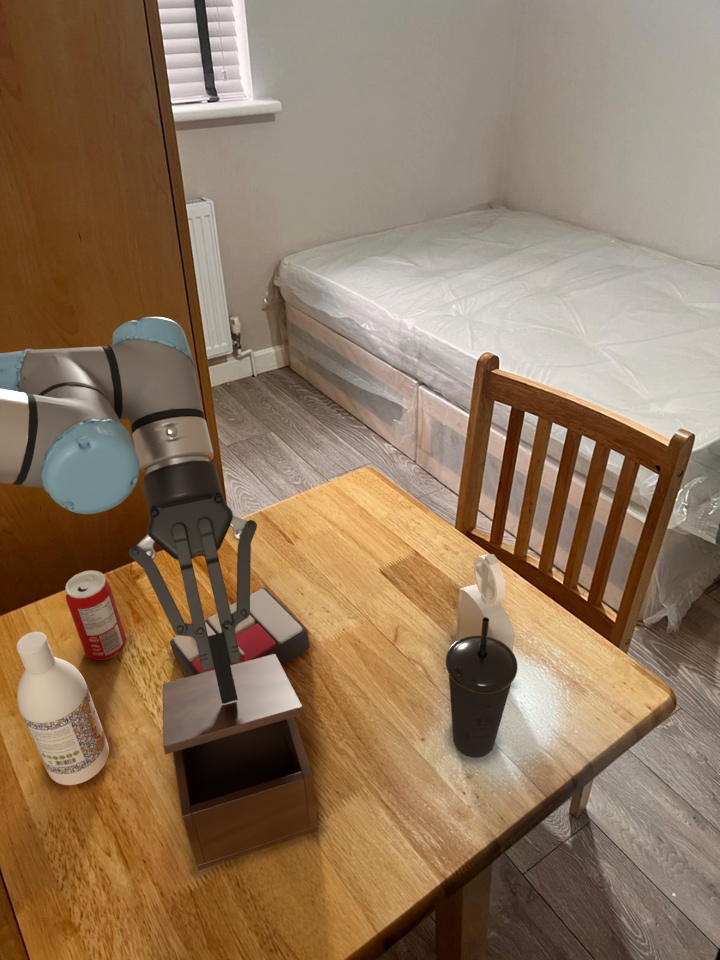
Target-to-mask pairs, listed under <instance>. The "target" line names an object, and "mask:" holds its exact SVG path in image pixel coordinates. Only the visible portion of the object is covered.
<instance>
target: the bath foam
mask: <svg viewBox="0 0 720 960" xmlns="http://www.w3.org/2000/svg"><path fill="white" fill-rule="evenodd" d="M16 651H17V653H18V655H19V658H20V661H21V662H22V665H23V667H24V671H23V673H22V675H21V677H20V680H19V682H18V686H17V693H16V697H17V698H16V699H17V705H18V710H19V712H20V714H21V717H22V720H23V721H24V724H25V725H26V728H27V729H28V732H29V734H30V737H31V739H32V741H33V743H34V746H35V748H36V750H37V752H38V754H39V756H40V758H41V761H42V763H43V765H44V767H45V769H46V772H47V774H48V775H49V777H50V778H51V780H52V781H54V782H55V783H57V784H59V785H63V786H75V785H76V786H77V785H80V784H82V783H85V782H87V781H89V780H91V779H92V778H94V777H95V776H97V774H99V773H100V771H102V770H103V768H104V767H105V766H106V763H107V761H108V758H109V755H110V748H109V743H108V740H107V737H106V734H105V731H104V729H103V726H102V723H101V720H100V716H99V714H98V711H97V708H96V705H95V703H94V700H93V698H92V695H91V693H90V689H89V686H88V684H87V681H86V679H85V677H84V676H83V675H82V673H81V672H80V671H79V669H78V668H77V667H76V666H75V665H73V664H72V663H71V662H68V661H67V660H65V659H62V658H60V657H56V656H54V653H53V650H52V647H51V646H50V644H49V641H48V637H47V635H46V634H45V633H43V632H41V631H31V632H28V633H26V634H24V635H23V636H22V637H20V638H19V639H18V641H17V643H16Z"/></svg>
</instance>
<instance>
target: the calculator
mask: <svg viewBox="0 0 720 960" xmlns="http://www.w3.org/2000/svg"><path fill="white" fill-rule="evenodd" d="M229 606H230V611H231V614H232V613H233V612H235V611H236V607H237V601H236V602H234V603H233V604H229ZM204 620H205V624H206V629H207V634H208V636H211V635H214V634H218V633H222V631H221V626H220V622H219V618H218V613H217V612H216V613H215V614H213V615H211V616H209V617H208V618H207V619H204ZM308 633H309V632H308V629H307V628H306V627H305V626H304V625H303V624H302V623H301V622H300V621H299V620H298V619H297V618H296V617H295V616H294V615H293V613H291V612H290V611H289V610H288V609H287V608H286V607H285V606H284V605H283V604H282V603H281V602H280V601H279V600H278V599H277V598H276V597H275V596H274V595H273V594H272V593H271V592H270V591H269V590H268V589H267V588H266V587H261V588H259V589H257V590H256V591H254V592H252V593H250V615H249V617H248V618H246V619H245V620H243V621H242V622H240V623H239V624H238V625H237V626H236V628H235V634H236V638H237V643H238V647H239V652H240V662H236V663H233V664H230V666H231V665H235V664H238V663H242V662H246V661H250V660H253V659H257V658H261V657H265V656H268V655H272V654H276V656H277V658H278V660H279V662H280V664H281V665H282V664H285V663H289V662H292V661H293V660H294V659H295V658H298V657H299V656H300V655H302V654H304V653H305V652H307V651H308V650H309V649H310V648H311V647H310V646H311V645H310V640H309V634H308ZM169 644H170V647H171V650H172V654H173V656H174V658H175V659H176V661H177V662H178V663H179V665H180V666H181V667H182V669H183V670H184V671H185V673H187V676H188V677H190V676H193V675H197V674H201V673H205V672H208V671H212V670H215V669H211V670H207V671H204V669H203V668H202V666H201V662H200V657H199V653H198V648H197V643H196V640H195V639H194V638H193V637H190V636H180V635H176V636H174V637H173V638H172V639H170V640H169Z"/></svg>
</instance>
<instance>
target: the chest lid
mask: <svg viewBox="0 0 720 960" xmlns="http://www.w3.org/2000/svg"><path fill="white" fill-rule="evenodd" d="M230 667H231V671H232V676H233V680H234V685H235V689H236V694H237V698H238V700H235V701H232V702H228V703H225V704H222V701H221V696H220V692H219V687H218V682H217V678H216V673H215V670H212V671H208V672H205V673H201V674H197V675H193V676H186V677H183V678H179V679H174V680H171V681H167V682H163V683H162V723H163V725H162V730H163V731H162V733H163V734H162V735H163V738H162V739H163V742H162V743H163V750H164V754H165V755H168V754H171V753H172V754H173V752H175V751H179V750H182V749H186V748H189V747H193V746H196V745H199V744H203V743H206V742H210V741H213V740H217V739H220V738H224V737H227V736H230V735H234V734H237V733H241V732H244V731H248V730H251V729H255V728H258V727H261V726H265V725H268V724H272V723H275V722H279V721H282V720H286V719H289V718H292V717H294V718H295V717H300V716H302V715H304V714H305V712H304V711H305V710H304V707H303V705H302V703H301V701H300V698H299V697H298V695H297V693H296V691H295V689H294V687H293V685H292V683H291V681H290V680H289V677H288V676H287V674H286V671H285V669H284V668H283V666H282V663H281V664H280V662H279V660H278V658H277V656H276V654H272V655H268V656H265V657H261V658H257V659H253V660H250V661H246V662H242V663H238V664H235V665H231V666H230Z"/></svg>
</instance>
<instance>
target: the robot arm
mask: <svg viewBox="0 0 720 960" xmlns="http://www.w3.org/2000/svg"><path fill="white" fill-rule="evenodd" d="M195 369H196V368H195V359H194V358H193V355H192V352H191V348H190V345H189V343H188V339H187V336H186V334H185V330H184V329H183V328H182V327H181V325H180V324H179V323H178V322H176V321H174V320H172V319H170V318H166V317H161V316H146V317H142V318H141V319H138V320H129V321H126V322H123V324H121V325H119V326H118V327H117V328H116V329H115V330H114V331H113V333H112V343H111V344H107V345H103V346H101V345H100V346H84V347H67V348H65V347H64V348H63V347H62V348H47V349H34V348H26V349H24V350H18V351H10V352H9V351H8V352H0V484H6V485H14V486H21V487H28V488H39V489H44V491H45V492H46V493H47V494H49V496H50V498H51V499H52V500H53V501H54V502H55V504H58V505H59V506H60V507H62V508H63V509H66V510H67V511H70V512H72V513H75V514H79V515H80V514H81V515H95V514H99V513H100V514H101V513H103V512H106V511H109V510H112V509H113V508H115V507H117V506H119V505H121V504H122V503H123V502H124V501H125V500H127V498H128V497H129V496H130V495H131V494H132V492H133V491H134V489H135V487H136V485H137V483H138V481H139V480H140V478H139V477H140V472H141V473H142V474H144V476H143V478H142V479H141V482H142V487H143V493H144V497H145V501H146V502H145V503H146V506H147V511H148V515H149V521H148V524H147V528H146V532H147V534H146V535H145V536H144V537H143V539H141V541H139V542H138V543H137V544H136V545H132V546H131V547H130V548H129V549H128V555H129V557H130V558H131V559H132V560H133V561H134V562H136V564H137V565H138V566H139V567H141V568H142V570H143V571H144V573H145V575H146V577H147V579H148V581H149V584H150V585H151V588H152V590H153V591H154V593H155V595H156V597H157V600H158V601H159V603H160V605H161V608H162V610H163V612H164V614H165V616H166V618H167V620H168V622H169V624H170V626H171V628H172V630H173V632H174V634H175V635H176V636H178V635H180V636H190V637H193V638H194V639H195V640H196V643H197V648H198V653H199V657H200V662H201V666H202V668H203V669H204V671H207V670H211V669H215V673H216V678H217V682H218V687H219V692H220V696H221V701H222V704H225V703H228V702H232V701H235V700H238V698H237V694H236V689H235V685H234V680H233V676H232V671H231V667H230V664H233V663H236V662H240V652H239V647H238V643H237V638H236V634H235V628H236V626H237V625H238V624H239V623H240V622H242V621H243V620H245V619H246V618H248V617H249V615H250V594H251V563H252V562H251V558H252V557H251V556H252V555H251V553H252V541H253V538H254V536H255V534H256V531H257V529H258V524H257V522H256V521H255V520H254V519H249V520H246V519H243V518H240V517H238V516H235V515H234V514H233V511H232V509H231V508H230V506H228V504H227V503H226V501H225V497H224V493H223V488H222V484H221V481H220V476H219V472H218V467H217V465H216V464H215V463H214V462H213V461H212V460H213V459H214V457H215V454H214V449H213V445H212V441H211V436H210V432H209V428H208V424H207V421H206V416H205V412H204V408H203V403H202V397H201V394H200V388H199V384H198V379H197V374H196V370H195ZM121 420H128V422H129V425H130V429H131V434H132V436H131V434H130V432H129V430H128V429H127V428H126V426H125V425H124V424H123V423H122V422H121ZM230 528H231V529H232V530H233V533H232V536H233V538H234V539H235V540H236V541H238V542H237V551H236V552H237V553H236V555H237V556H236V557H237V558H236V560H237V562H236V602H237V607H236V611H235V612H233V613H232V614H231V611H230V603H229V598H228V593H227V588H226V584H225V580H224V576H223V571H222V567H221V562H220V558H219V553H218V551H219V550H220V549H221V547H222V545H223V543H224V540H225V537H226V536H227V533H228V531H229V529H230ZM155 544H156V545H157V546H158V547H160V548H161V549H162V550H163V551H164V552H166V554H167V555H169V556H170V557H171V558H173V559H174V560H176V561H178V563H179V569H180V573H181V577H182V583H183V587H184V592H185V596H186V601H187V605H188V610H189V615H190V620H191V623H189V622H188V623H187V622H185V621H184V617H183V616H182V614H181V612H180V610H179V608H178V606H177V604H176V602H175V600H174V598H173V596H172V594H171V592H170V589H169V587H168V586H167V583H166V581H165V579H164V577H163V576H162V573H161V571H160V569H159V568H158V566H157V564H156V563H155V561H154V560H155V559H156V557H157V552H156V550H155V547H154V546H155ZM196 557H197V558H198V557H204V560H205V564H206V568H207V572H208V577H209V582H210V586H211V590H212V596H213V600H214V604H215V608H216V613H218V618H219V622H220V626H221V631H222V633H218V634H214V635H211V636H208V634H207V629H206V624H205V620H206V619H205V616H204V611H203V607H202V606H203V605H202V601H201V597H200V593H199V587H198V583H197V579H196V573H195V569H194V564H193V559H195V558H196Z"/></svg>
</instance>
